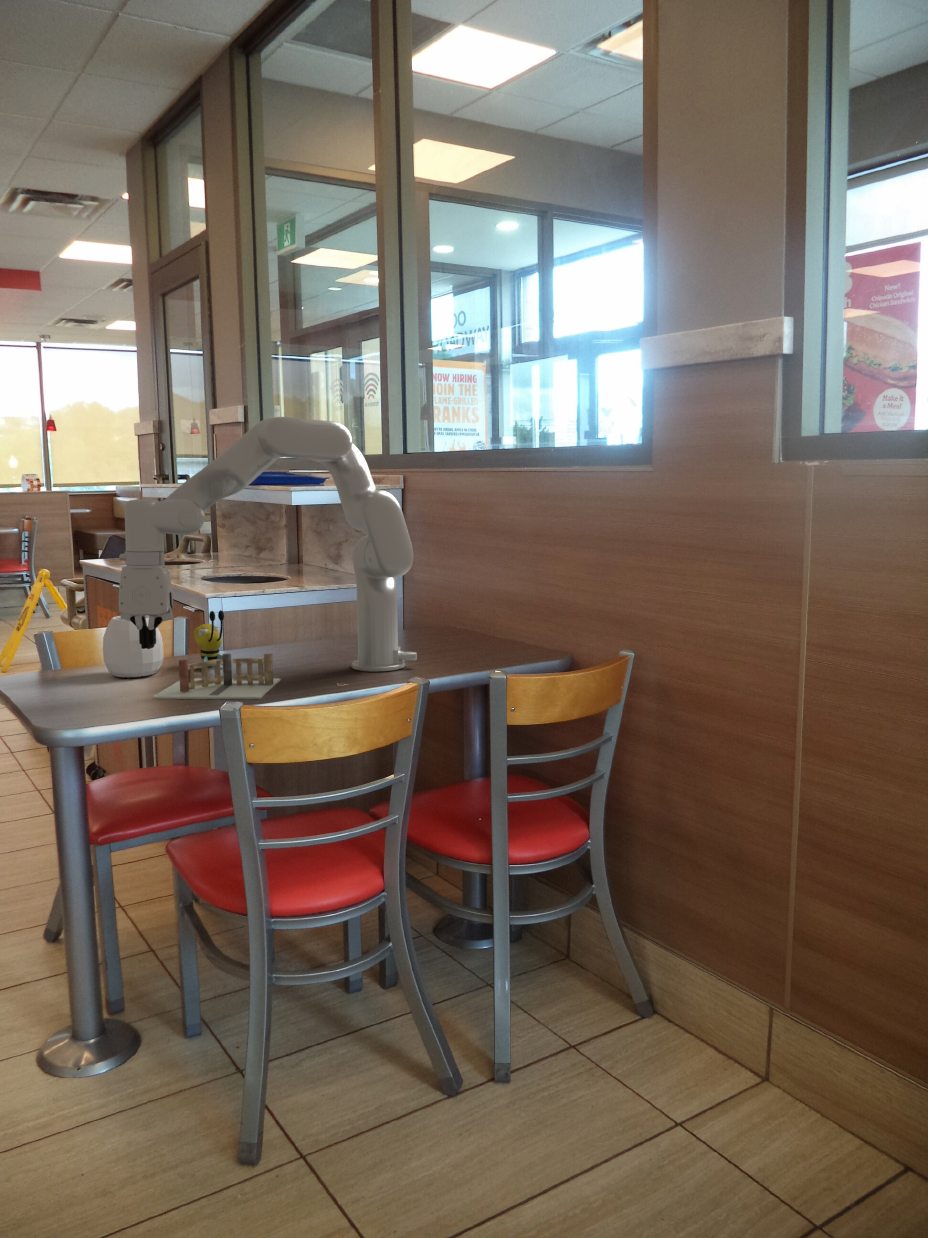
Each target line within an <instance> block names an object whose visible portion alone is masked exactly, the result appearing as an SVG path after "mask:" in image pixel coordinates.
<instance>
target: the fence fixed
mask: <svg viewBox="0 0 928 1238" xmlns="http://www.w3.org/2000/svg"><path fill="white" fill-rule="evenodd" d="M221 655H223V666H222V671H223V672H222V673H223V674H222V677H224V685H232V678H233V681H237V685H241V684H242V681H248V685H252V684H253V681H259V685H263V684H264V681H265V685H273V678H274V664H273V663H274V662H273V661H274V657H273V653H264V654H263V657H233V658H232V654H231V653H223V654H221ZM233 664H235V668H236V669H235V672H236V674H234V675H233V672H232V671H233V670H232V667H233V666H232V665H233ZM242 664H246V669H247V670H246V673H247V675H246V674H245V675H243V674H242V673H243V672H242ZM253 664H257V668H258V675H256V674H255V675H253V673H254V672H253V671H254V670H253Z"/></svg>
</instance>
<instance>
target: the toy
mask: <svg viewBox="0 0 928 1238" xmlns="http://www.w3.org/2000/svg"><path fill="white" fill-rule="evenodd" d="M217 616H218V617H217V619H219V621H220V628H219V627H218V626H216V625H214V624H215V620H216V613H215V612H214V611H213V610H211V611H210V612H209V615H208V617H209V621H210V622H211V623H204V624H201V625H199V626H197V627H196V628H195V629H194V631H193V638H194V641H195V643H196V644H197V646H199V647H200V651H199V654H200V659H201V662H205V661H211V660H218V659H223V655H222V654H221V652H220V648H221V645H222V643H223V638H222V635H223V630H224V629H223V627H224V622H223V620H224V619H225V614H224V611H223V610H219V611H218V612H217ZM220 666H222V667H223V664H220Z"/></svg>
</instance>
